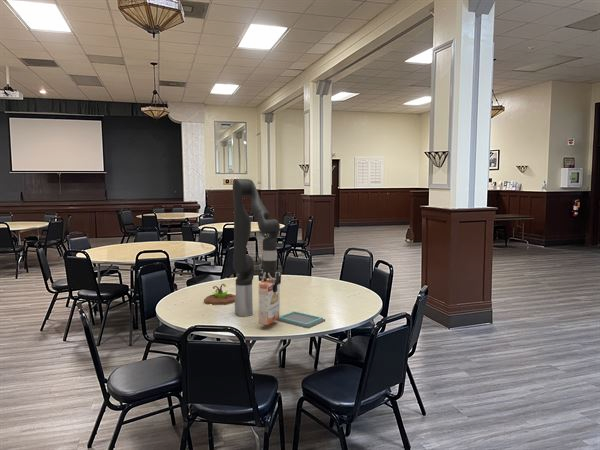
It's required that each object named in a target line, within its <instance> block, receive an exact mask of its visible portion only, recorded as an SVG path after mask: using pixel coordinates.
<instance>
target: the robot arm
mask: <svg viewBox="0 0 600 450" xmlns="http://www.w3.org/2000/svg"><path fill="white" fill-rule="evenodd" d="M243 197H250V199H251V206H250V209H251V212H252V214H253V217H254V218H255V219H256V221H257V225H258V230H259V231H260V233H262V234H263V235H268V234H269V235H268V236H267V237H266V238H265V237H264V238H263V239H262V252H261V267H262V268H261V269H258V271H257V275H258V281H259V282H260V283H261V282H264V281H266V280H268V279H270V280H271V281H272V283H273V292H277V285H278V284H280V285H281V284H282V281H281V280H282V272H281V271H277V268H278V254H277V253H278V252H277V241H278V238H279V233H280V229H281V225H280V222H279V221H278V219H275V218H273V219H270V213H269V211H268V210H267V207H266V206H265V205H264V204H263V201H262V200H261V197H260V194H259V192H258V189H257V187H256V185H255V183H254V181H253V180H252V179H249V178H236V179H234V180H233V181H232V198H233V201H232V202H233V234H234V235H233V236H234V237H233V257H232V268H233V270H234V272H235V273H237V274H238V276H237V277H236V278H235V295H236V297H235V302H234V314H235V315H236V316H238V317H249V316H252V315H253V312H254V311H253V307H254V306H253V305H254V304H253V301H254V299H253V298H254V296H253V281H254V276H255V273H254V271H255V265H254V264H255V263H254V259H253V257H252V256H251V255H249V254H247V246H248V242H249V239H250V237H251V232H252V220H251V217H250V215H249V213H248V212H247V210H246V208H245V206H244V203H243Z"/></svg>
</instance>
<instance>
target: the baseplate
mask: <svg viewBox="0 0 600 450" xmlns="http://www.w3.org/2000/svg"><path fill="white" fill-rule="evenodd" d="M276 321H277V322H282V323H285V324H289V325H293V326H297V327H301V328H305V329H310V328H312V327H314V326H316V325H317V326H318V325H320V324H322V323H324V322H326V319H325V318H324V317H321V316H318V315H313V314H308V313H304V312H300V311H294V310H293V311H291V312H288V313H285V314H282V315H279V318H278V319H277V320H276Z"/></svg>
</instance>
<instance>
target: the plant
mask: <svg viewBox="0 0 600 450" xmlns="http://www.w3.org/2000/svg"><path fill="white" fill-rule="evenodd" d="M226 286H227V284H225V283H221V285H220V287H218V286H217V285H214V286H213V287H212V290H214V289H215V290H214V292H212V294H210V295H207V296H206V297H205V298H203V303H204V304H205V305H210V304H212V305H211V306H228V305H231V304H235V297H236V294H232V293H228V290H225V291H224V290H222V288H225V287H226Z"/></svg>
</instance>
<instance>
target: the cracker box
mask: <svg viewBox="0 0 600 450" xmlns="http://www.w3.org/2000/svg"><path fill="white" fill-rule="evenodd" d="M280 288H281V283H280V284H278V285H277V292H273V283H272V281H271V280H270V279H269V278H268V279H267V280H266V281H264V282H261V281H260V283H258V324H259V325H263V326H269V325H270V324H272V323H273V322H275V321H277V319H278V318H279V316H280V307H281V305H280V300H281V299H280V298H281V295H280V292H281V291H280V290H281V289H280Z"/></svg>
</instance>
